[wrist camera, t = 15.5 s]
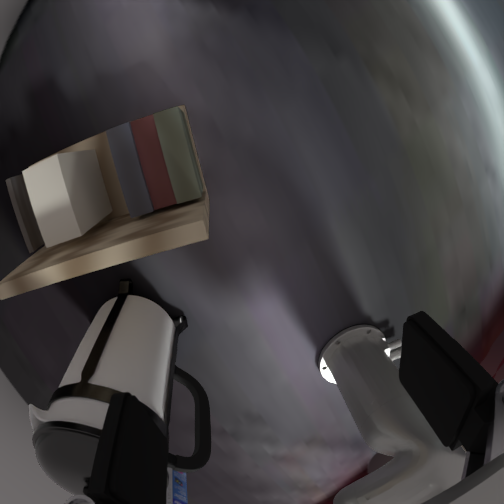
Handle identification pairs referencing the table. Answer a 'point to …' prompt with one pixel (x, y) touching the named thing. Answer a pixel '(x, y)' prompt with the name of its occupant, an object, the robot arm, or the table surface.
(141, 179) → the bookshelf
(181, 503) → the ink cartridge box
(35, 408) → the coffee press
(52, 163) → the boxed book
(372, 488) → the robot arm
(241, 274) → the table surface
